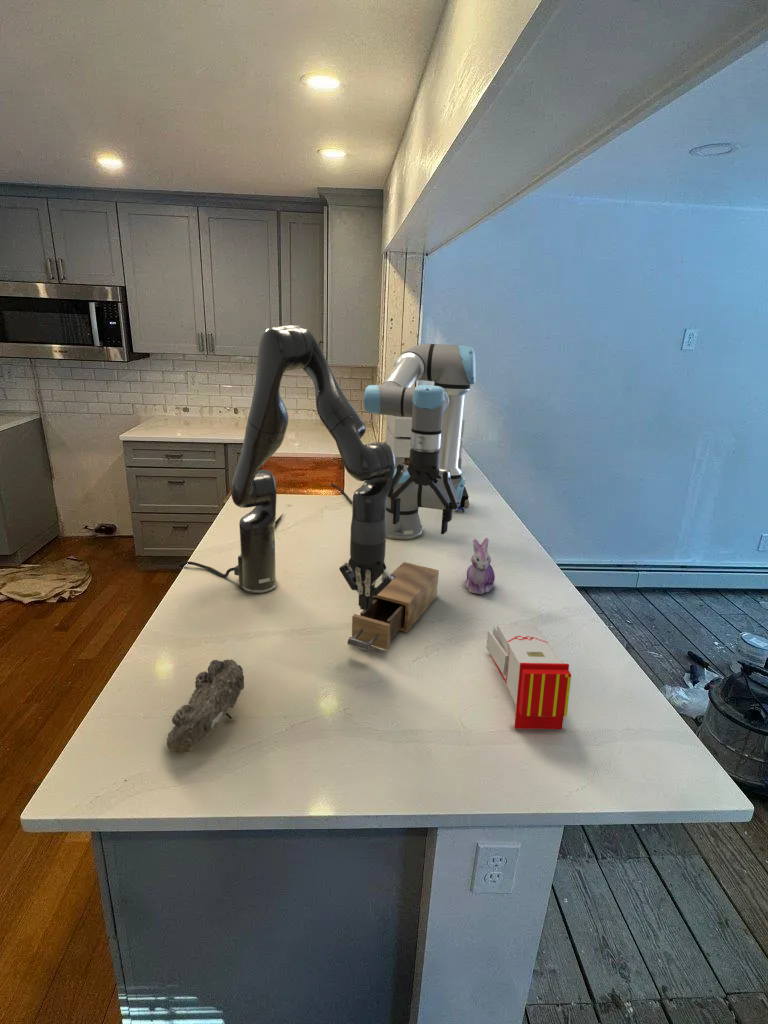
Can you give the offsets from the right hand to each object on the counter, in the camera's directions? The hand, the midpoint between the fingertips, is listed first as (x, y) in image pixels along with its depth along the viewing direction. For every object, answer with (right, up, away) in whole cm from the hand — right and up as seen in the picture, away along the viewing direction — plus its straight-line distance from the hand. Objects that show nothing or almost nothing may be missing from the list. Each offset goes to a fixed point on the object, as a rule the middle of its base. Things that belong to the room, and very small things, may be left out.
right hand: (419, 527), depth 149 cm
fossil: (-42, -35, -41) cm, 69 cm away
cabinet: (-4, -21, +1) cm, 22 cm away
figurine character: (+21, +6, +79) cm, 82 cm away
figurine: (+18, -18, +14) cm, 29 cm away
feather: (-47, +2, +60) cm, 77 cm away
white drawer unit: (+8, +23, +125) cm, 128 cm away
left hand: (-13, -17, -23) cm, 32 cm away
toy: (+20, -33, -28) cm, 48 cm away
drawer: (-10, -25, -11) cm, 29 cm away
